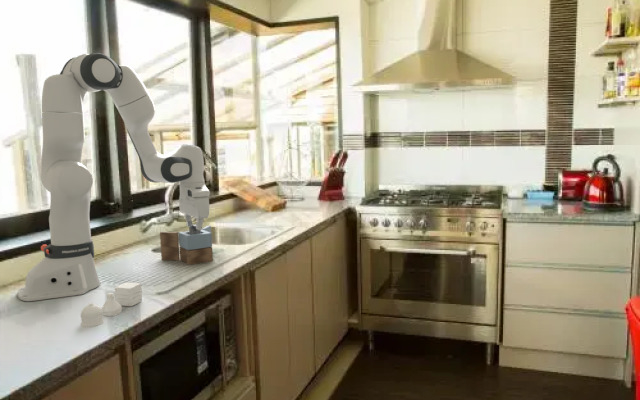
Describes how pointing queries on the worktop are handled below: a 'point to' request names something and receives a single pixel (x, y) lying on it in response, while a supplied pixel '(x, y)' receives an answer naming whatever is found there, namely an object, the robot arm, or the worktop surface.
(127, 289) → the container set
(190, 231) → the dark grey tall bar
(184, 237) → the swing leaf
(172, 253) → the hinge frame
